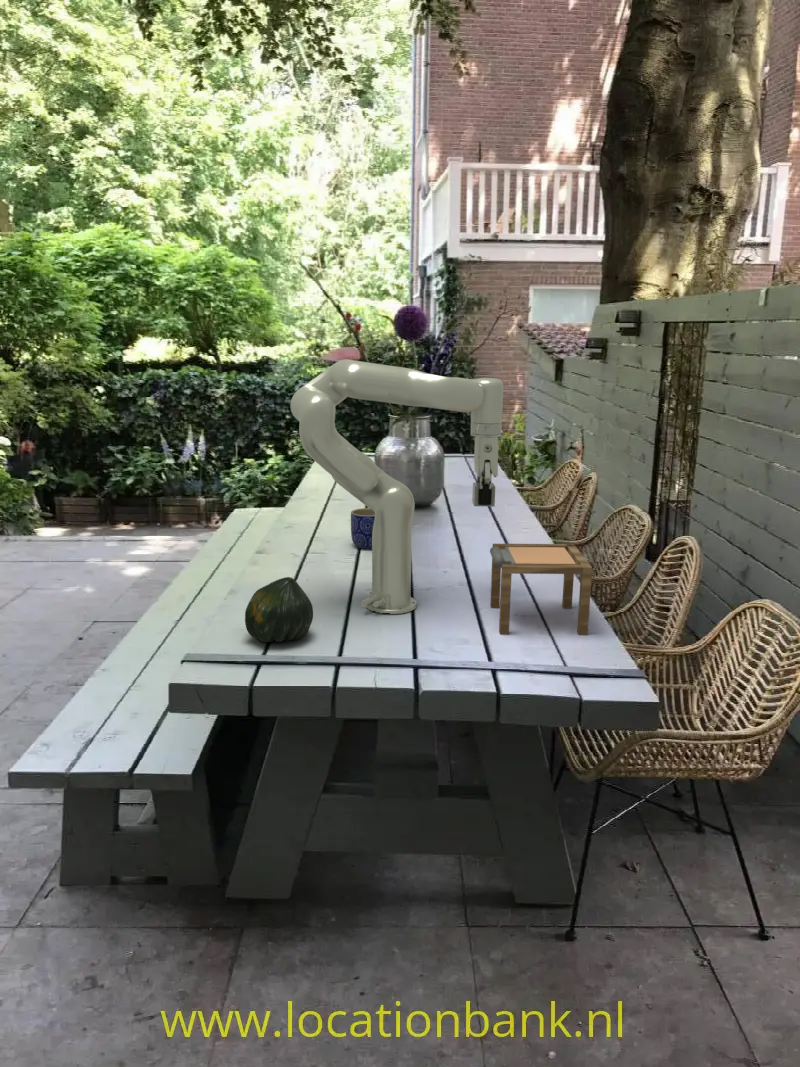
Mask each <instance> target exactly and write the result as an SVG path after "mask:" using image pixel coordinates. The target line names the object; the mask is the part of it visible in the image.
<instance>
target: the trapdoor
mask: <svg viewBox="0 0 800 1067" xmlns="http://www.w3.org/2000/svg"><path fill="white" fill-rule="evenodd" d="M489 553H490V555H491V559H492V558H493V561H494V563H495V565H496V567H498V568H501V569H502V565H576V563H575V562H574V560H573V559H572V557H571V556H570V555H569V553H568V552H567V551H566V549H565V548H564V547H504V550H503V549H499V548H498V547H497V546H494V547H493V546H492V547H491V548H490V550H489Z"/></svg>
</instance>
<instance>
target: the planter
mask: <svg viewBox="0 0 800 1067" xmlns="http://www.w3.org/2000/svg"><path fill="white" fill-rule="evenodd" d="M374 519H375V512H374V511H372V510H371V509H370V508H368V507H363V508H356V509H352V511H350V534H351V542H352V544H354V546H355V547H357V548H358V549H360V548H362V549H361V550H366V549H371V550H372V532H373V525H374Z"/></svg>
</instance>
